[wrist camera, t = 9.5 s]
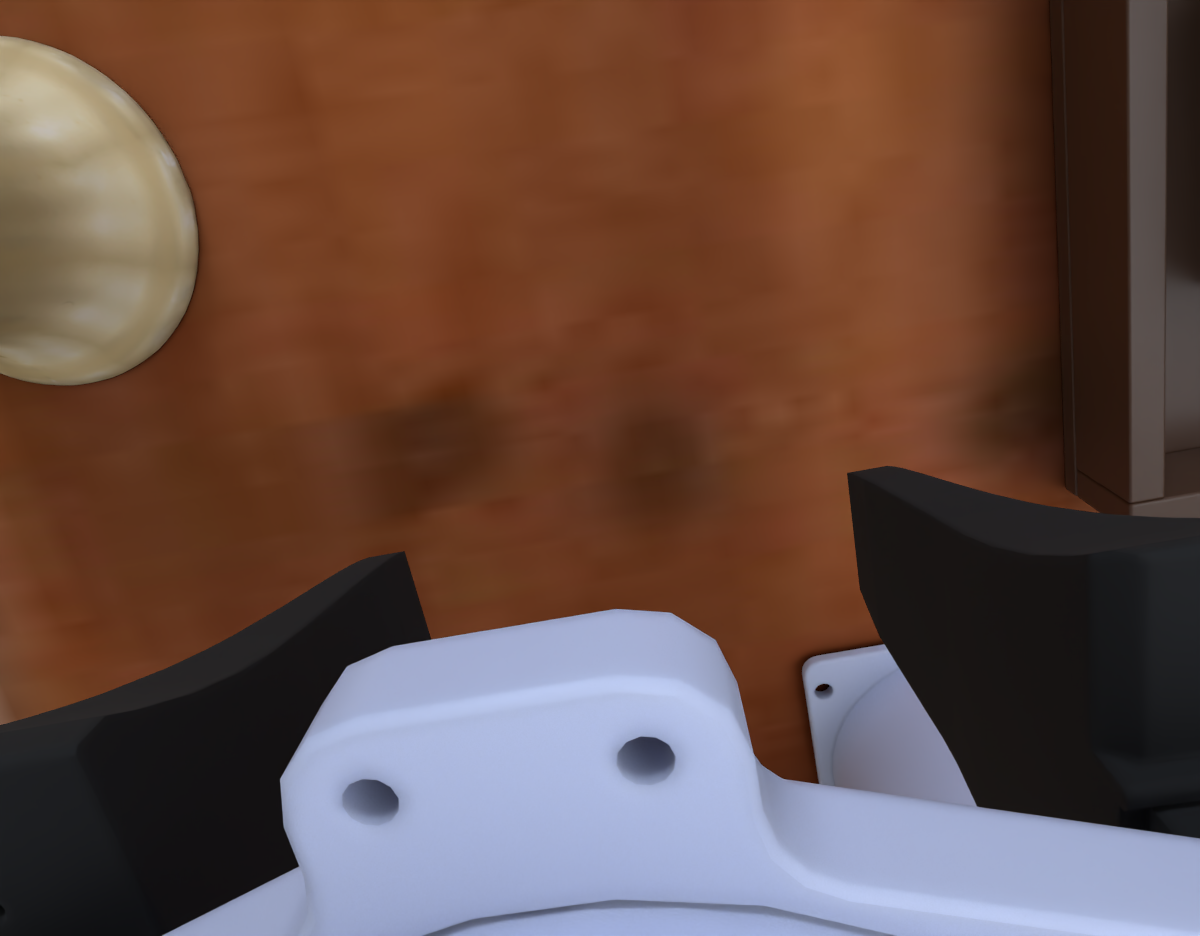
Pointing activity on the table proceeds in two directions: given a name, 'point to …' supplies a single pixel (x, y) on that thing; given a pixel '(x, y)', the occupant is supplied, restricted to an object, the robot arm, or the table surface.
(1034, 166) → the table surface
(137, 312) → the hand bell
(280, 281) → the table surface
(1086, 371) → the tray
